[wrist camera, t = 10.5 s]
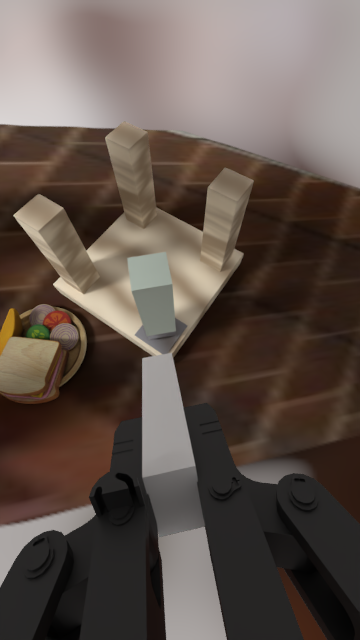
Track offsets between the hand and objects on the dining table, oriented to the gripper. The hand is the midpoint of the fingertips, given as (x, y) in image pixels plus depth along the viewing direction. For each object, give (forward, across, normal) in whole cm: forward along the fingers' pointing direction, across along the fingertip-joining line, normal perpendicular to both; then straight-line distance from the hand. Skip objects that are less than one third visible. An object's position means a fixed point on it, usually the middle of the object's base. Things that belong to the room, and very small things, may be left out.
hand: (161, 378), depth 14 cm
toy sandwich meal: (+24, -16, -8) cm, 30 cm away
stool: (+30, 0, -2) cm, 30 cm away
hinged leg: (+21, 0, -7) cm, 22 cm away
